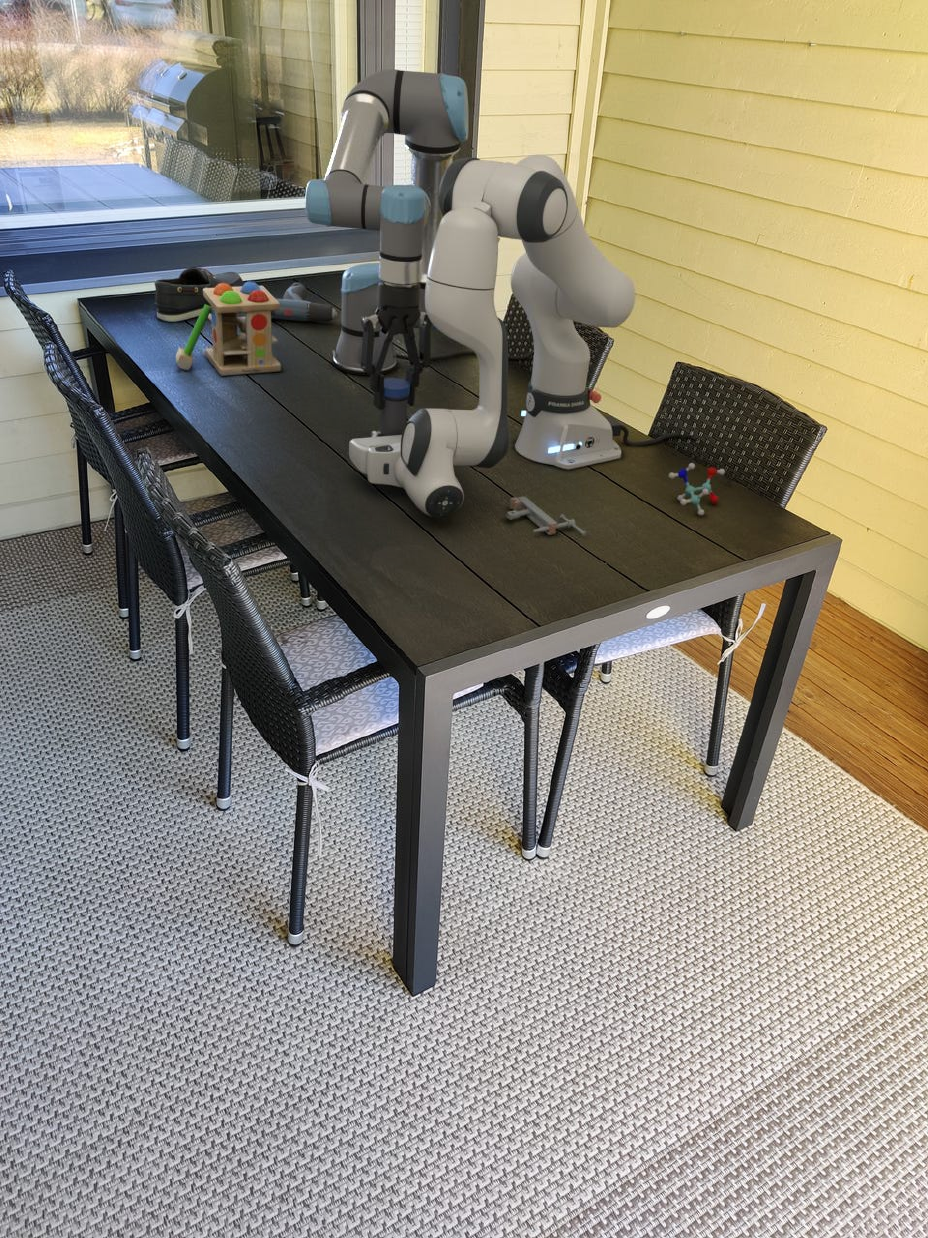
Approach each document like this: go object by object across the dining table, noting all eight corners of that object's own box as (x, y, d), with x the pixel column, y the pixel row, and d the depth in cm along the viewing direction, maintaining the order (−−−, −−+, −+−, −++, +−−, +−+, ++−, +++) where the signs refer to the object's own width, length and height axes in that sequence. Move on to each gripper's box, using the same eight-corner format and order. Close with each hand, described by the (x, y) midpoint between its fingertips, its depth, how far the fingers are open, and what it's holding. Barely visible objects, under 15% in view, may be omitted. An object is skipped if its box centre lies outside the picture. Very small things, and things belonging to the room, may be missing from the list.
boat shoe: (262, 300, 274) (260, 262, 268) (174, 323, 250) (170, 282, 245) (229, 292, 279) (226, 254, 274) (139, 314, 256) (134, 273, 250)
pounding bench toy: (183, 379, 220) (176, 299, 210) (169, 357, 231) (162, 280, 221) (282, 371, 230) (280, 294, 220) (264, 350, 240) (262, 276, 230)
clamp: (496, 500, 180) (542, 491, 184) (495, 510, 181) (540, 501, 185) (542, 538, 169) (588, 528, 174) (540, 549, 170) (586, 539, 175)
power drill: (344, 304, 276) (335, 327, 259) (277, 298, 275) (264, 321, 258) (344, 285, 273) (335, 306, 256) (277, 279, 272) (264, 300, 255)
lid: (393, 400, 182) (394, 391, 181) (372, 390, 185) (373, 382, 184) (416, 393, 185) (416, 385, 184) (395, 384, 188) (395, 375, 187)
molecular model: (729, 509, 182) (714, 457, 180) (679, 523, 185) (663, 472, 184) (733, 500, 192) (719, 451, 191) (686, 514, 196) (671, 466, 194)
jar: (388, 473, 191) (392, 395, 182) (373, 463, 194) (375, 386, 185) (409, 467, 193) (413, 390, 185) (393, 457, 197) (397, 382, 188)
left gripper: (437, 272, 180) (429, 392, 193) (342, 277, 172) (340, 402, 185) (456, 284, 175) (446, 407, 188) (358, 290, 167) (355, 418, 180)
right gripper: (468, 442, 182) (441, 413, 192) (362, 452, 175) (341, 421, 185) (465, 473, 186) (439, 443, 196) (361, 484, 178) (340, 452, 189)
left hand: (393, 404), depth 186 cm, fingers closed on lid, 6 cm apart
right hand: (390, 432), depth 191 cm, fingers closed on jar, 5 cm apart
